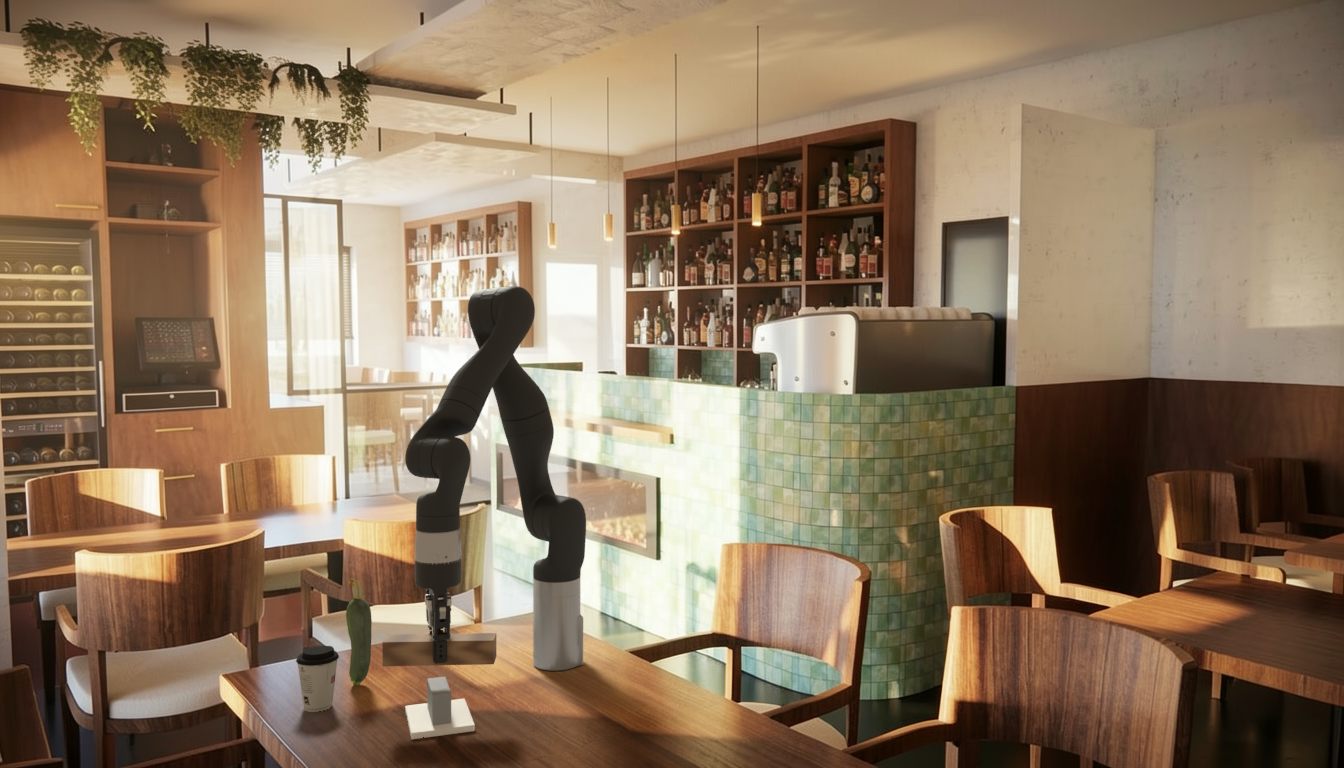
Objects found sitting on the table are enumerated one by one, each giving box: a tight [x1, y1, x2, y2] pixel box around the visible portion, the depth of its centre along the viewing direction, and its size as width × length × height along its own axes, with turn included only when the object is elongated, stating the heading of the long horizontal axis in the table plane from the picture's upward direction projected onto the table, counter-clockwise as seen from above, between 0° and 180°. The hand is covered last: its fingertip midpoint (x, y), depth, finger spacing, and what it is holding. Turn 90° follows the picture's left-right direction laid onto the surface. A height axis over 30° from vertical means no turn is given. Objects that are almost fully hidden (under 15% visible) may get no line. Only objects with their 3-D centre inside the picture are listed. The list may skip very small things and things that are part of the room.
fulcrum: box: [404, 676, 476, 740], centre depth 158 cm, size 10×12×6 cm
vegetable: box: [345, 578, 373, 686], centre depth 173 cm, size 4×4×20 cm
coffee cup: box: [295, 645, 340, 713], centre depth 164 cm, size 7×7×10 cm
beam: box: [382, 632, 497, 667], centre depth 158 cm, size 18×4×4 cm, turn 94°
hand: (438, 656), depth 158 cm, fingers closed on beam, 4 cm apart
